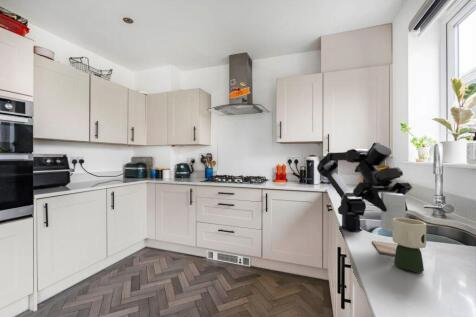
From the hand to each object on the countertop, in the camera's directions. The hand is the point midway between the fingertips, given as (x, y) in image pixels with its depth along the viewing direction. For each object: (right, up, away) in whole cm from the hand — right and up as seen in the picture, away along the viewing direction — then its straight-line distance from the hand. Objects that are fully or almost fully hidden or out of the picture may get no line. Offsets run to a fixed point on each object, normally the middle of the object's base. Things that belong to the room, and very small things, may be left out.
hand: (396, 211), depth 68 cm
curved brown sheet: (-1, -13, +1) cm, 13 cm away
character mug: (-5, -13, -11) cm, 18 cm away
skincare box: (0, -7, +1) cm, 7 cm away
